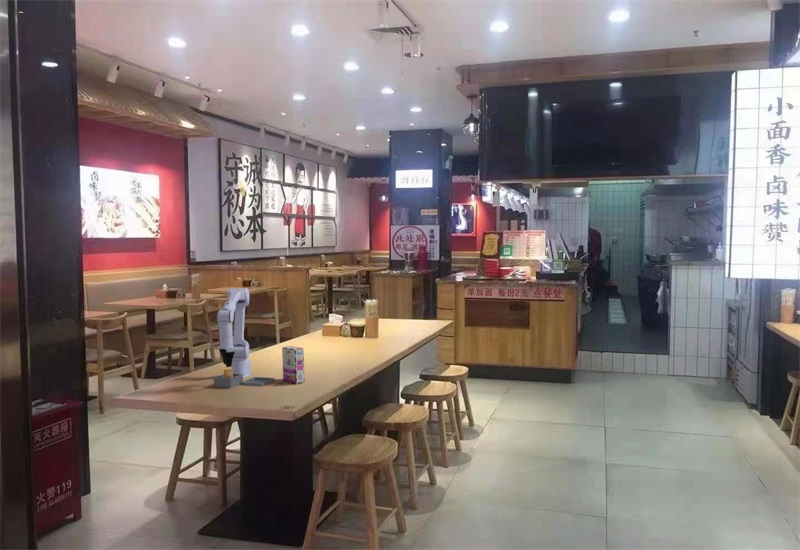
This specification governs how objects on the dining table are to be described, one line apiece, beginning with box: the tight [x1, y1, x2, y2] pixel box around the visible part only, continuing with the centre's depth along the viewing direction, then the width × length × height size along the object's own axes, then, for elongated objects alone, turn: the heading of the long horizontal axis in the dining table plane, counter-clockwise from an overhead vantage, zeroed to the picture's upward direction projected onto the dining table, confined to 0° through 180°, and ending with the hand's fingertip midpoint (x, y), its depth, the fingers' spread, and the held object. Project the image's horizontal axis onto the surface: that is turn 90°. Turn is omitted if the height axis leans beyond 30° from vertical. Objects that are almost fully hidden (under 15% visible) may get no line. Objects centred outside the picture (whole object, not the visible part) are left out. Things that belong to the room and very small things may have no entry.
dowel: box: [223, 368, 233, 378], centre depth 283 cm, size 4×4×7 cm
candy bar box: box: [281, 345, 305, 385], centre depth 288 cm, size 11×5×16 cm, turn 45°
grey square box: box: [213, 373, 244, 389], centre depth 283 cm, size 9×9×5 cm
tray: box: [241, 376, 276, 387], centre depth 286 cm, size 11×11×2 cm
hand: (227, 365), depth 282 cm, fingers open, 7 cm apart
